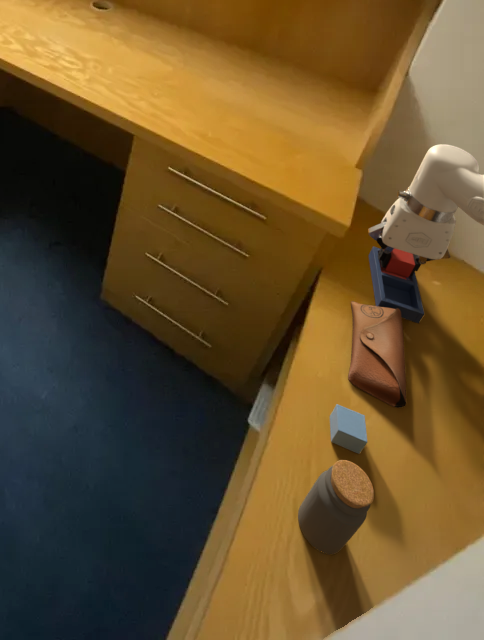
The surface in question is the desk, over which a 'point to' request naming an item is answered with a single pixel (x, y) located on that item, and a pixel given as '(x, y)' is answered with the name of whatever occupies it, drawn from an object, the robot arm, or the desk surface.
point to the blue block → (348, 429)
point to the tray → (395, 290)
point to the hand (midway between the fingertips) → (395, 265)
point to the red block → (400, 263)
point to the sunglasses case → (378, 353)
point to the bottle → (335, 506)
